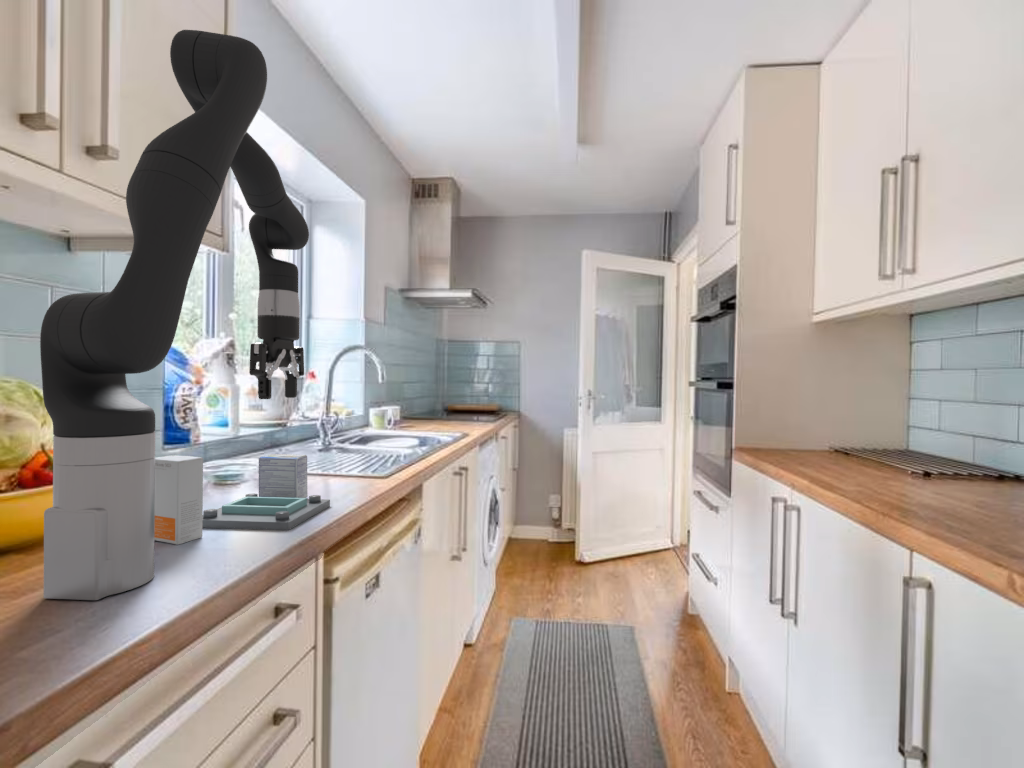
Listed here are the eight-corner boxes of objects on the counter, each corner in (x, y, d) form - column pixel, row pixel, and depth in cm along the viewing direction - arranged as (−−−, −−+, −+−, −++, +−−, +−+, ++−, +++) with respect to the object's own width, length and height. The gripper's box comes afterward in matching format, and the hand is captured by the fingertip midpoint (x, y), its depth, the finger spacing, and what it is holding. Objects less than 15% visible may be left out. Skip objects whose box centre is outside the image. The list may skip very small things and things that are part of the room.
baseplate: (288, 530, 83) (288, 514, 83) (190, 527, 84) (190, 512, 84) (329, 505, 99) (330, 493, 99) (247, 503, 100) (247, 491, 100)
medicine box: (308, 498, 105) (308, 454, 105) (296, 503, 101) (297, 457, 101) (270, 496, 106) (270, 453, 106) (257, 501, 102) (257, 456, 101)
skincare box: (146, 540, 77) (147, 458, 77) (174, 532, 81) (175, 454, 81) (177, 545, 75) (177, 460, 74) (204, 537, 79) (204, 456, 78)
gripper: (274, 310, 96) (274, 400, 96) (315, 319, 110) (315, 397, 110) (236, 311, 97) (236, 399, 97) (282, 319, 111) (282, 396, 111)
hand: (278, 398), depth 103 cm, fingers open, 8 cm apart
